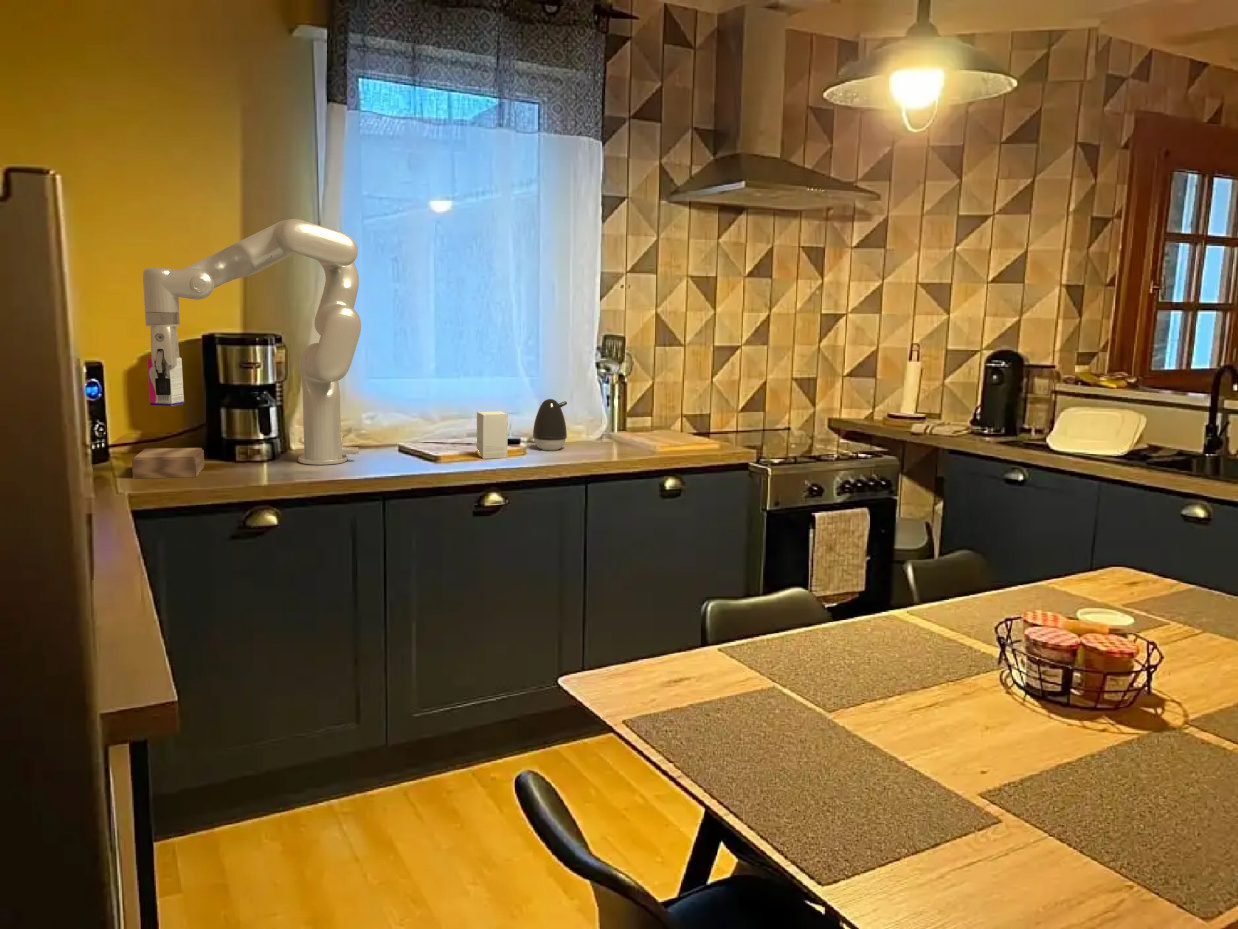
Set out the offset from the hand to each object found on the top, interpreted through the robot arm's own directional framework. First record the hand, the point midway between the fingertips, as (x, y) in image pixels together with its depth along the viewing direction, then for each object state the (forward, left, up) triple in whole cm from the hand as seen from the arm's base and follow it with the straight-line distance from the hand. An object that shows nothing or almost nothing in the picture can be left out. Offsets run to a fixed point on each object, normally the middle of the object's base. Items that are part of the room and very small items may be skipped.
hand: (166, 392), depth 236 cm
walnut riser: (0, 0, -20) cm, 20 cm away
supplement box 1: (0, 0, -3) cm, 3 cm away
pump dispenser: (-101, -26, -20) cm, 106 cm away
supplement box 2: (-82, -15, -20) cm, 86 cm away
